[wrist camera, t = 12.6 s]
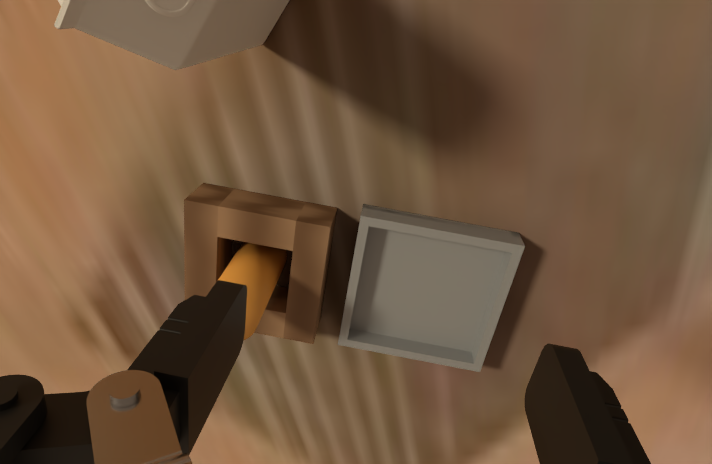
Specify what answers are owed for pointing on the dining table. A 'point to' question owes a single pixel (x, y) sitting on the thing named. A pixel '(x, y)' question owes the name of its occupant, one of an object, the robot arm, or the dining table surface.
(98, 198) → the dining table surface
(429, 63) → the dining table surface
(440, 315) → the tray
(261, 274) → the plug
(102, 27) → the milk carton
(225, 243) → the socket block
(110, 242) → the dining table surface
